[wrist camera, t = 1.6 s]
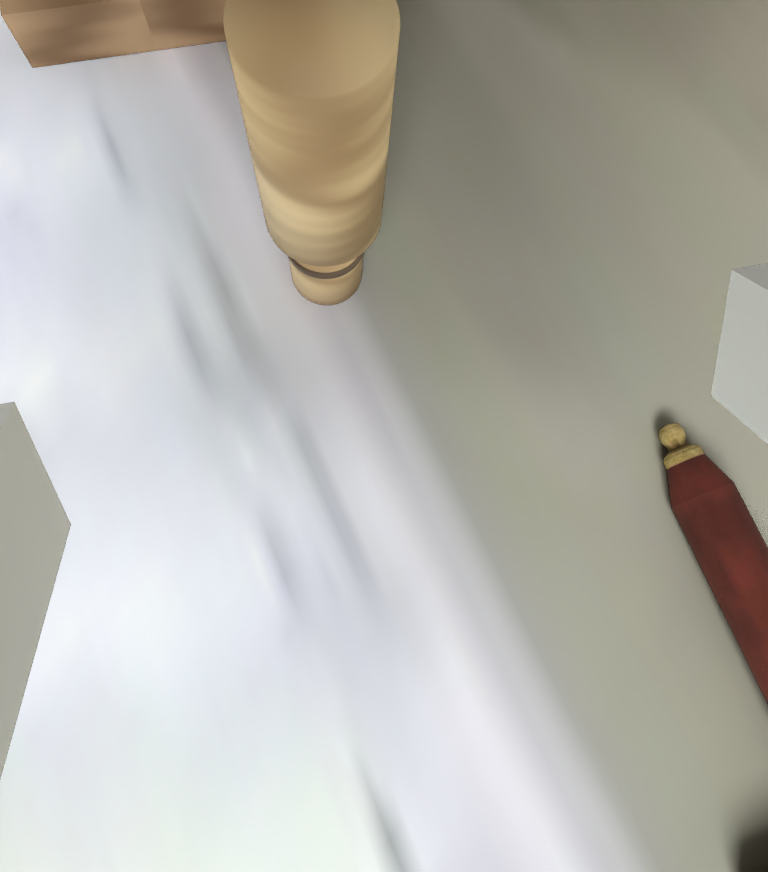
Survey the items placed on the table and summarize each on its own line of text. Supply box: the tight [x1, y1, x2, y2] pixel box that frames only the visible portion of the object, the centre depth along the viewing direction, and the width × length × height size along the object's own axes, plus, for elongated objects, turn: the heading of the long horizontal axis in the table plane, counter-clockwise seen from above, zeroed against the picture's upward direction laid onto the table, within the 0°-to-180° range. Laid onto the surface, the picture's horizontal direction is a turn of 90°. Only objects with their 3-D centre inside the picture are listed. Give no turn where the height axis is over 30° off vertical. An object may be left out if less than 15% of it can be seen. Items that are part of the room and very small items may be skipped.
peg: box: [223, 0, 400, 305], centre depth 24 cm, size 4×4×14 cm
